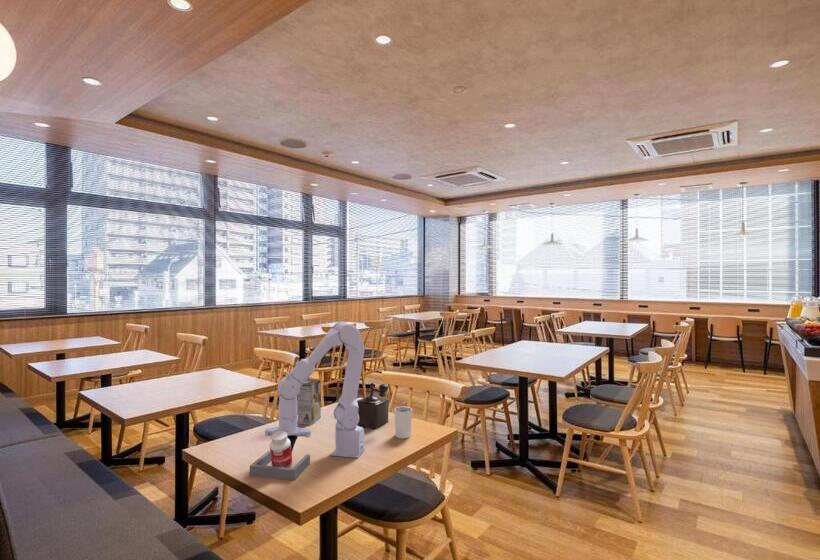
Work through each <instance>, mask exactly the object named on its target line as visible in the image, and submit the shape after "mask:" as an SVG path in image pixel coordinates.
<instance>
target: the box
mask: <svg viewBox="0 0 820 560" xmlns="http://www.w3.org/2000/svg"><path fill="white" fill-rule="evenodd" d="M269 463H271V453H270V450H267V451H266V452H265V453H264V454H263V455H261V456H260V457H259V458H258V459H256V460H255V461H254V462H253V463H251V464H250V465H249V476H250V477H259V478H265V479H266V478H267V479H279V480H286V481H287V480H288V481H296V479H297V478H299V476H300V475H301V474H302V473H303V472H304V471H305V470H306V469H307V468H308V467H309V466H310V465H311V454H305V455H304V456H303V457H302V458H301V459H300V460H299V461H298V462H297V463H296V464H295V465H294V466H293V467H290V468H286V467H276V466H272V465H268V464H269Z"/></svg>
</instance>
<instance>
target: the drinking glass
mask: <svg viewBox="0 0 820 560" xmlns="http://www.w3.org/2000/svg"><path fill="white" fill-rule="evenodd" d="M412 418H413V408H412V407H409V406H406V405H405V406H396V407H395V408H394V427H395V428H394V430H395V431H394V433H395V434H394V435H395V437H396V438H399V439H407V438H408V439H409V438H410V437H412V420H413V419H412Z"/></svg>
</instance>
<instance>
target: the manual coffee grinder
mask: <svg viewBox="0 0 820 560" xmlns="http://www.w3.org/2000/svg"><path fill="white" fill-rule="evenodd" d="M369 389H370V395H366V396H365V397H362V398H363V399H360V400H357V403H358V414H359V422H358V424H357V426H359V427H363V428H366V429H371V430H375V429H379V428H381V427H383V426H385V425H386V424H388V423H389V403H390V402H389V399H385V397H386V396H387V395H386V392H388V391H389V386H388V385H387V384H386V383H382V384H379V386H378V388H376V387H374V382H371V383H370V387H369ZM374 391H375V392H376V393H378V396H379V397H378V396H377V395H374Z"/></svg>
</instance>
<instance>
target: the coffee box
mask: <svg viewBox="0 0 820 560" xmlns="http://www.w3.org/2000/svg"><path fill="white" fill-rule="evenodd" d="M321 381H322V380H321V379H309V378H308V379H307V380H306V382H305V383H304V384H303V385H302V386H301V387H300V392H299V394H298V395H297V425H311V426H312V425H314V424H315V423H316V422H317V421H318V420H319V419H321V417H322V415H321V413H322V409H321V408H322V407H321V406H322V405H321V402H322V401H321V400H322V399H321V398H322V397H321V396H322V395H321V394H322V391H321V390H322V388H321V386H322V385H321Z"/></svg>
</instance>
